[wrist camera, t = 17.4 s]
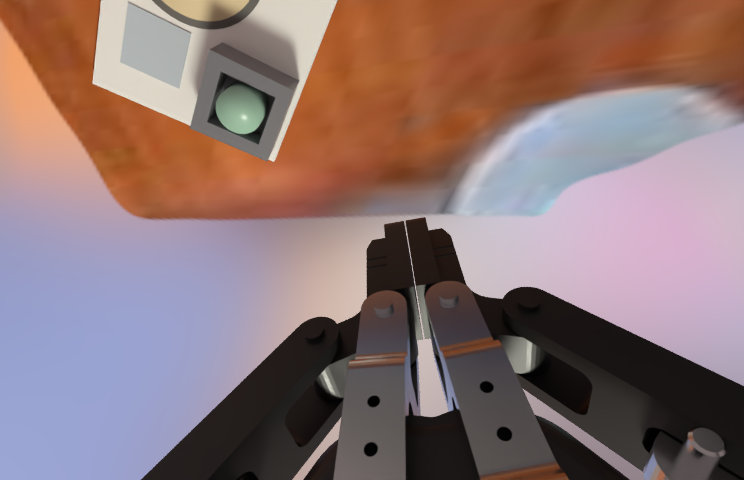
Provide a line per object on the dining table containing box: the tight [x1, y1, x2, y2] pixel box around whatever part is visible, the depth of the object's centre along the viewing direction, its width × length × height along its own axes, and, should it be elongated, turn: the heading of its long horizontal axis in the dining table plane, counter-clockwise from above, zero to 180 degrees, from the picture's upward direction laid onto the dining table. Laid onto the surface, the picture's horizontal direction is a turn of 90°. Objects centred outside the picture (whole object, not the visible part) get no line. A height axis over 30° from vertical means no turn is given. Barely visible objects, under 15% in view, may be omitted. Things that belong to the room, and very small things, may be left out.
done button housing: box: [190, 42, 299, 161], centre depth 35 cm, size 7×7×4 cm
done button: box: [216, 81, 268, 134], centre depth 34 cm, size 4×4×3 cm
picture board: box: [93, 0, 337, 162], centre depth 33 cm, size 20×17×1 cm
